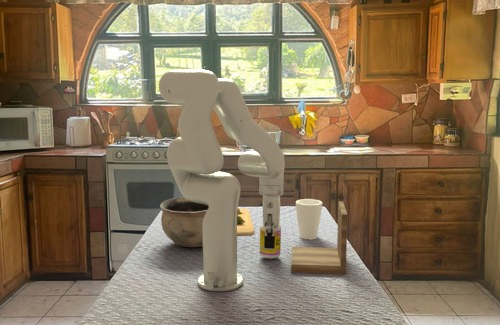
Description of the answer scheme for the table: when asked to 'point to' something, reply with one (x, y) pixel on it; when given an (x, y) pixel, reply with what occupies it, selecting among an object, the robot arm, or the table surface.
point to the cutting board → (244, 222)
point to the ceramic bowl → (183, 221)
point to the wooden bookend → (324, 252)
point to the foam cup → (308, 217)
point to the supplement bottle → (276, 251)
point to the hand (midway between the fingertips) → (270, 244)
